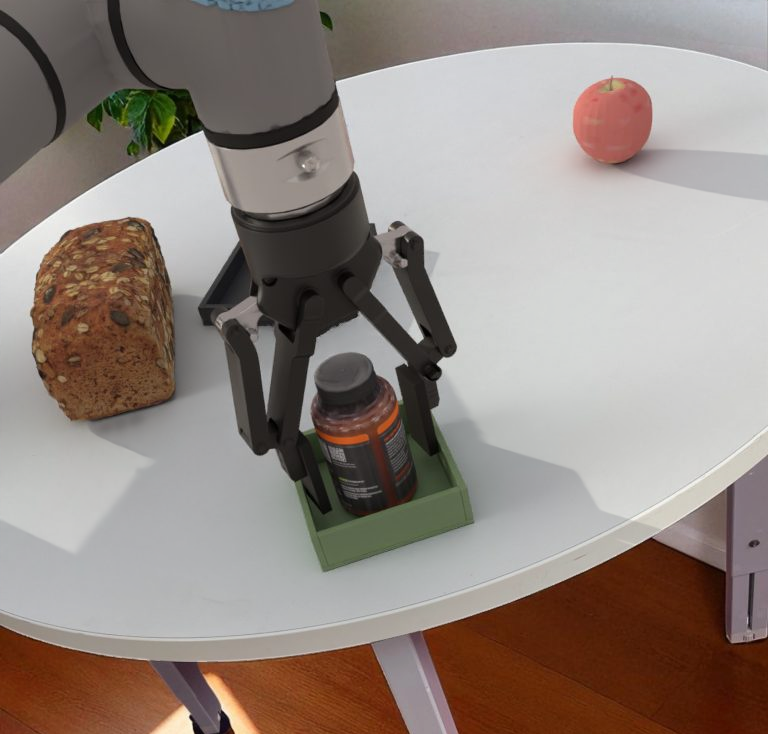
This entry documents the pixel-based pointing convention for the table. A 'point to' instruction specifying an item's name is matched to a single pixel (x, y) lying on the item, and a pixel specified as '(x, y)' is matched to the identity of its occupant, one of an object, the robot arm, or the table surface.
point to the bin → (394, 525)
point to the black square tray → (234, 286)
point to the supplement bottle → (362, 435)
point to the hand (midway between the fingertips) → (372, 472)
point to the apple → (613, 119)
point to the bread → (104, 320)
